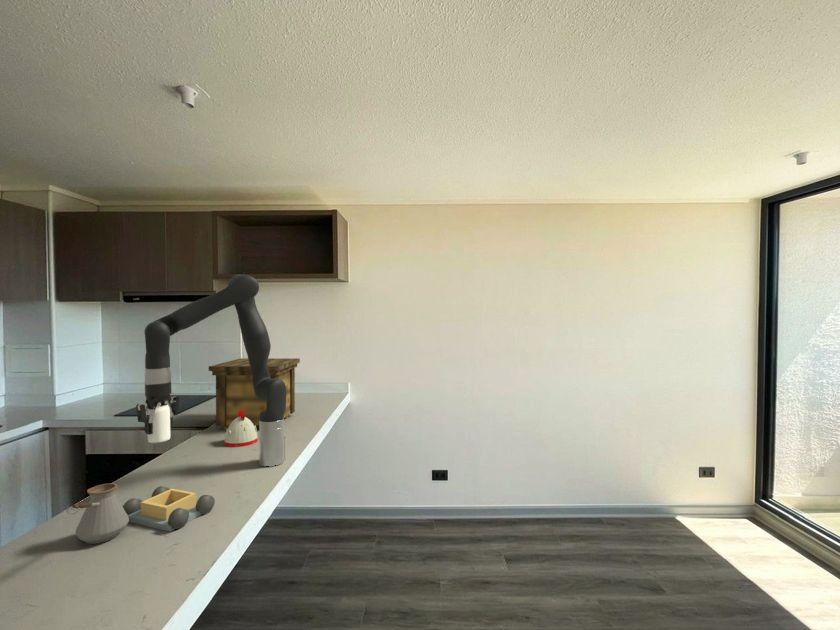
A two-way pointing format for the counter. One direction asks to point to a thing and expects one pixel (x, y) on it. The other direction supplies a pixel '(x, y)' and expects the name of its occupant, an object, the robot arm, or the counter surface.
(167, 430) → the can
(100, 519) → the coffee pot
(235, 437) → the kitchen timer
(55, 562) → the counter surface
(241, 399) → the crate
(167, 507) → the chassis
